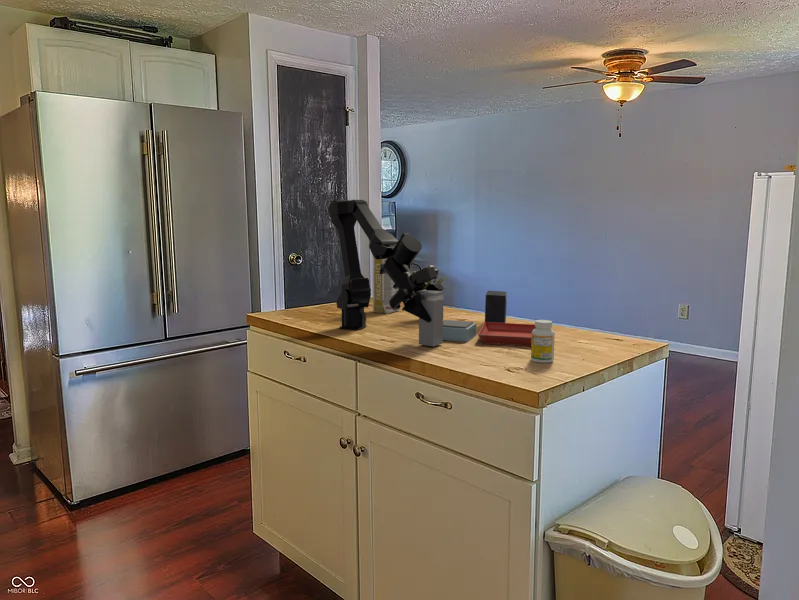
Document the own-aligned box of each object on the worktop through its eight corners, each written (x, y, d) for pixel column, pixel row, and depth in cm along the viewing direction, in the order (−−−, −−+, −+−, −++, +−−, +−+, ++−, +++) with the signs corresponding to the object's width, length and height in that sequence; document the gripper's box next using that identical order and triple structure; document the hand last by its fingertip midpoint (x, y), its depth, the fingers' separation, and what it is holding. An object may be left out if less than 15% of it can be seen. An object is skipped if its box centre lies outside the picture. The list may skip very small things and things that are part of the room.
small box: (505, 329, 184) (506, 295, 182) (484, 328, 185) (484, 294, 183) (506, 323, 194) (507, 290, 192) (486, 322, 195) (486, 290, 194)
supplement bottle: (547, 364, 141) (548, 324, 139) (526, 360, 144) (527, 321, 143) (557, 360, 145) (559, 321, 143) (537, 356, 148) (538, 318, 147)
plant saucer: (545, 349, 158) (546, 337, 157) (477, 345, 162) (477, 333, 162) (546, 336, 175) (546, 324, 175) (484, 332, 180) (484, 321, 179)
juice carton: (385, 308, 221) (385, 243, 218) (402, 311, 217) (403, 244, 213) (369, 312, 214) (369, 244, 210) (387, 314, 209) (387, 245, 206)
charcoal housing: (418, 344, 160) (419, 291, 158) (428, 341, 164) (429, 290, 162) (433, 346, 157) (434, 293, 155) (442, 343, 161) (443, 291, 159)
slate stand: (432, 339, 169) (433, 325, 168) (443, 332, 178) (443, 319, 177) (467, 341, 165) (467, 327, 165) (476, 335, 174) (476, 321, 174)
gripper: (398, 257, 152) (434, 305, 147) (438, 253, 167) (472, 296, 162) (374, 286, 158) (408, 332, 153) (414, 280, 173) (446, 322, 168)
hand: (435, 320), depth 159 cm, fingers closed on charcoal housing, 5 cm apart
